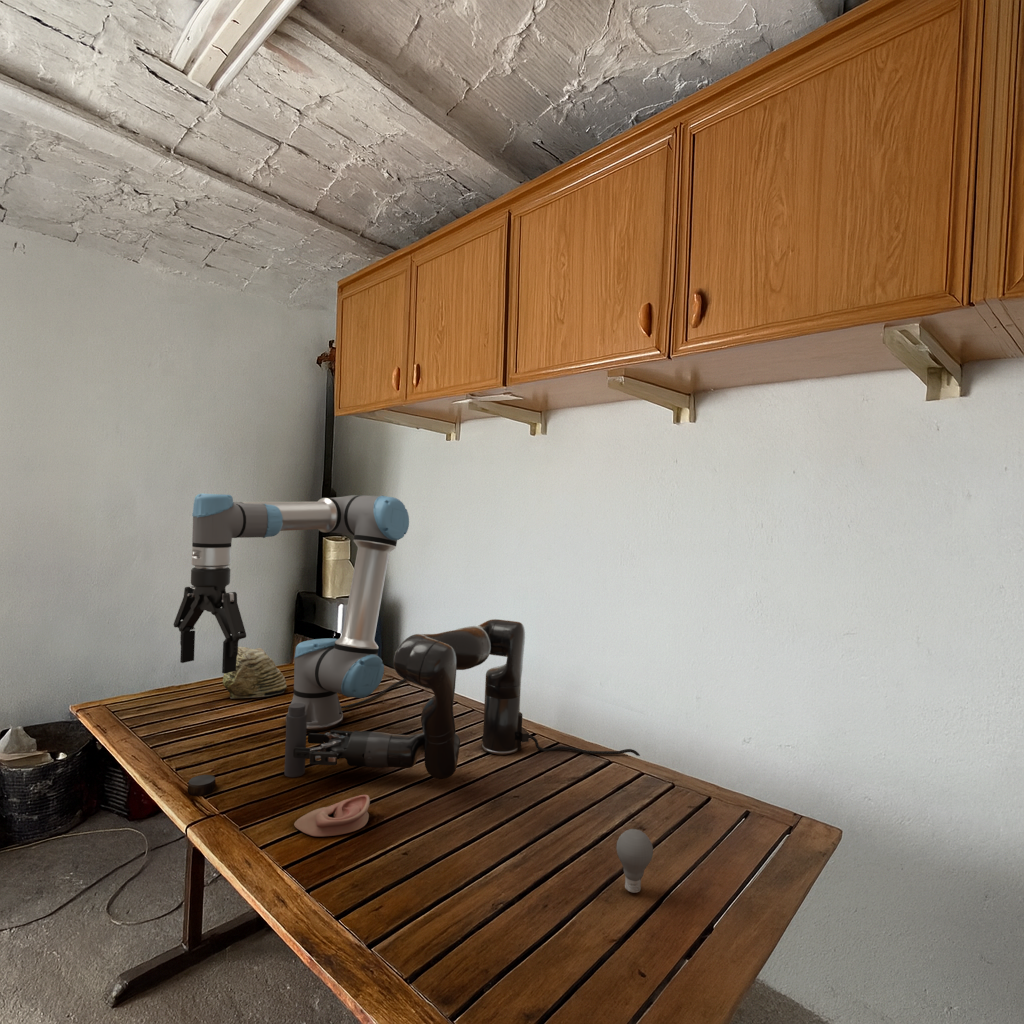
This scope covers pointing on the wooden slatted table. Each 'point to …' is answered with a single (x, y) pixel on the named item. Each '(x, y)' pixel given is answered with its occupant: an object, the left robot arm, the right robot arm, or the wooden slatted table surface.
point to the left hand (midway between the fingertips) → (207, 666)
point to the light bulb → (634, 857)
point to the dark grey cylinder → (295, 739)
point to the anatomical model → (336, 818)
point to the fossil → (254, 675)
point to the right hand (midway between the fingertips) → (301, 744)
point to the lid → (201, 785)
